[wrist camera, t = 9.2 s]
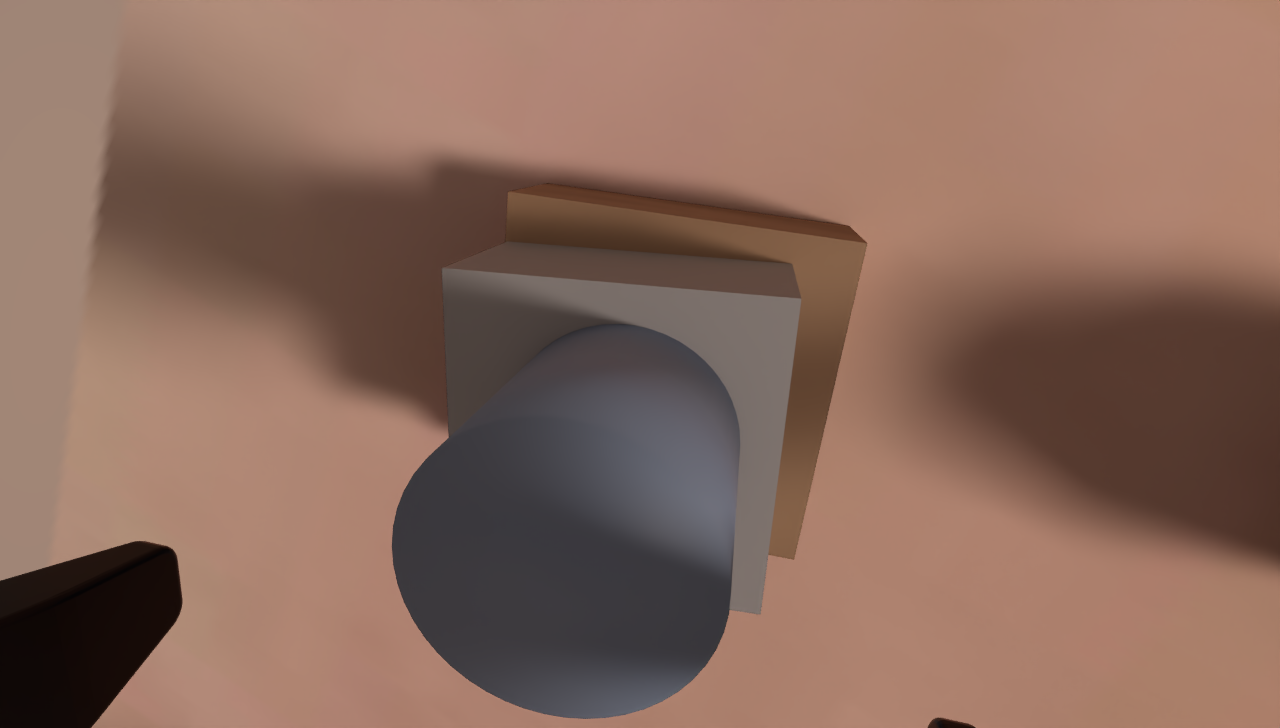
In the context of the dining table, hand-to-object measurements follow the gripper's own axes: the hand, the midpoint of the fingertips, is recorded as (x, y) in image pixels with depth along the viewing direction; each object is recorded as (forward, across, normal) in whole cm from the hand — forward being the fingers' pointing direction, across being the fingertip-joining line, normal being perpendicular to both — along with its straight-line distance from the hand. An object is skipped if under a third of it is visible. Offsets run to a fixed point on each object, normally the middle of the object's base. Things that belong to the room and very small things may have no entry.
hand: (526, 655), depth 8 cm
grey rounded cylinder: (+6, 0, 0) cm, 6 cm away
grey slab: (+9, 0, 0) cm, 9 cm away
